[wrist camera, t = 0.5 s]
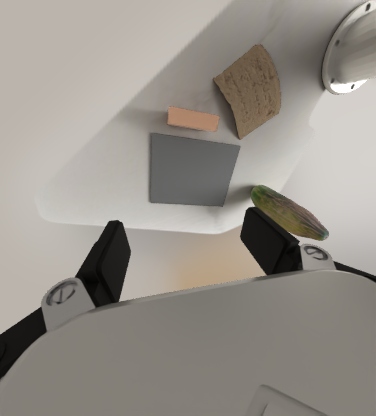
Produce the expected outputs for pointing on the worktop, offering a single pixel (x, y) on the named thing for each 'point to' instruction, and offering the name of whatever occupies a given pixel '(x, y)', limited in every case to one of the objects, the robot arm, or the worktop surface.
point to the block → (192, 119)
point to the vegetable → (288, 213)
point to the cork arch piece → (251, 89)
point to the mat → (190, 170)
